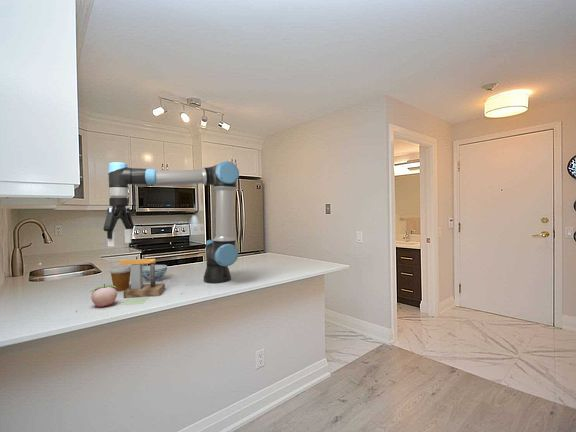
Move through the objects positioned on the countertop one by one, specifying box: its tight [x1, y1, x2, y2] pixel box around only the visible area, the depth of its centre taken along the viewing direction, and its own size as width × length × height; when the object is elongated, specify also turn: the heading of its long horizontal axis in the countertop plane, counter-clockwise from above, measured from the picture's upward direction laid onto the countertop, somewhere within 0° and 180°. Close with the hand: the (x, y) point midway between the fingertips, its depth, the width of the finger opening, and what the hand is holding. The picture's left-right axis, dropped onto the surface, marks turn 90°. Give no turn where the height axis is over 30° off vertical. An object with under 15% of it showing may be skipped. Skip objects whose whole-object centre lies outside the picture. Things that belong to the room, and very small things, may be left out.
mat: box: [120, 297, 149, 306], centre depth 131 cm, size 9×9×1 cm
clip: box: [118, 258, 157, 266], centre depth 142 cm, size 15×3×2 cm, turn 100°
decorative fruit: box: [90, 283, 118, 308], centre depth 125 cm, size 9×8×10 cm
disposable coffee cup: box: [109, 265, 131, 292], centre depth 151 cm, size 10×10×12 cm
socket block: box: [122, 263, 166, 299], centre depth 143 cm, size 15×12×15 cm
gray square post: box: [129, 264, 144, 289], centre depth 142 cm, size 4×4×14 cm
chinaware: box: [142, 264, 168, 283], centre depth 174 cm, size 15×15×8 cm
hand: (120, 244), depth 137 cm, fingers open, 13 cm apart
